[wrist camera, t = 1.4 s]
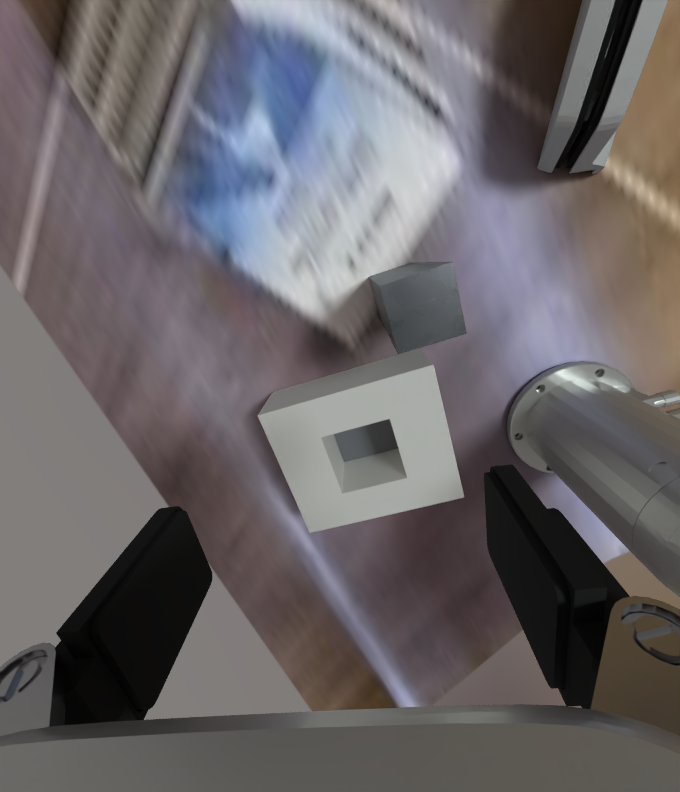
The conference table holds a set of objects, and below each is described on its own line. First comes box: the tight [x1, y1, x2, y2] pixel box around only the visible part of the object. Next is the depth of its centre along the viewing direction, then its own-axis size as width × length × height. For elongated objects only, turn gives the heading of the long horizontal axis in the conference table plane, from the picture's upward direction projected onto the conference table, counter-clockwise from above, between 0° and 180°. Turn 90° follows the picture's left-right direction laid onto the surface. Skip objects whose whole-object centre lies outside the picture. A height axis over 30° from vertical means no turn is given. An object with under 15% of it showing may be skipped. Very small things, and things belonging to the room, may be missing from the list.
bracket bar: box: [369, 262, 467, 354], centre depth 25 cm, size 4×4×14 cm
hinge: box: [537, 0, 668, 174], centre depth 21 cm, size 17×5×10 cm, turn 174°
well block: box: [258, 348, 464, 533], centre depth 35 cm, size 16×14×6 cm
